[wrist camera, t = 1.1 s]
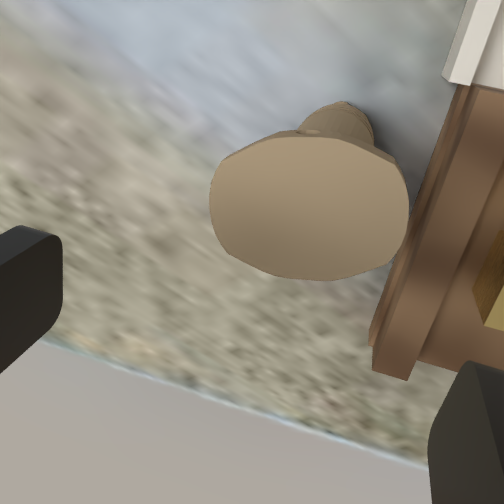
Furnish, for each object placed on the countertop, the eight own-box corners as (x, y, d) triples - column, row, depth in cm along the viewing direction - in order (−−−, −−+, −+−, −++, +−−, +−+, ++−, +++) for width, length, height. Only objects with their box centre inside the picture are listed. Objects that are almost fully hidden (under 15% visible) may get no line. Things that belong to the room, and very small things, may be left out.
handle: (393, 169, 29) (401, 287, 16) (288, 167, 30) (214, 272, 17) (400, 85, 27) (416, 138, 14) (287, 87, 28) (203, 136, 15)
